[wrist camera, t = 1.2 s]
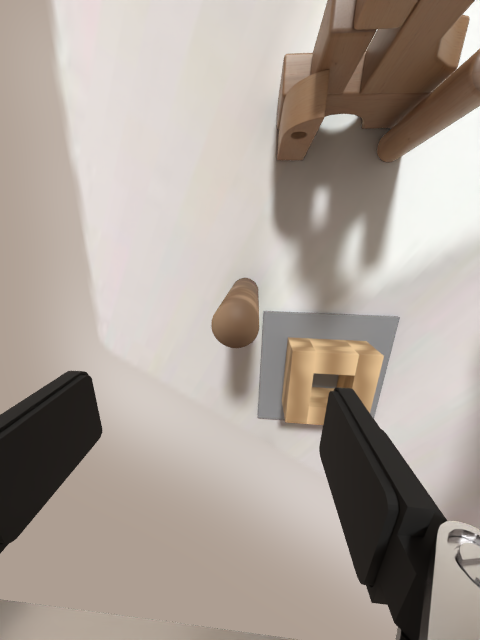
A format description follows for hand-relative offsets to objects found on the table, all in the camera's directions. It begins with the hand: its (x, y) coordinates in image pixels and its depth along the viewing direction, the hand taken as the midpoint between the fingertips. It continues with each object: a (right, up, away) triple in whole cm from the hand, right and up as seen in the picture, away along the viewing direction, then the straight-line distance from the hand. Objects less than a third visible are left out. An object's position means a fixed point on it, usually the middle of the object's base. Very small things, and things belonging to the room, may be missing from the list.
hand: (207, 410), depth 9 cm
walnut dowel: (+2, +8, +25) cm, 26 cm away
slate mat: (+15, -5, +28) cm, 32 cm away
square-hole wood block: (+15, -5, +28) cm, 32 cm away
